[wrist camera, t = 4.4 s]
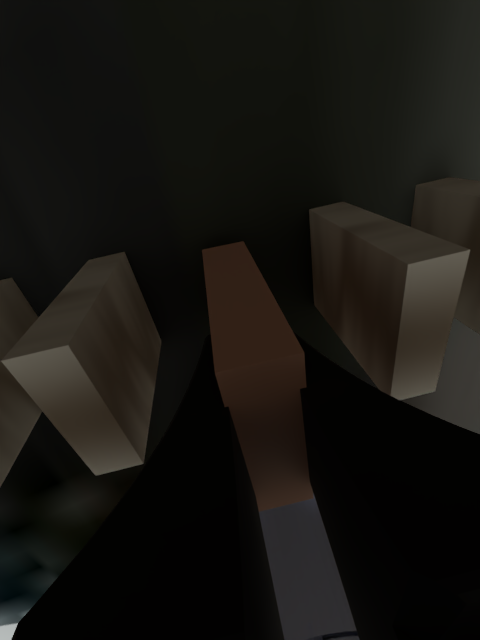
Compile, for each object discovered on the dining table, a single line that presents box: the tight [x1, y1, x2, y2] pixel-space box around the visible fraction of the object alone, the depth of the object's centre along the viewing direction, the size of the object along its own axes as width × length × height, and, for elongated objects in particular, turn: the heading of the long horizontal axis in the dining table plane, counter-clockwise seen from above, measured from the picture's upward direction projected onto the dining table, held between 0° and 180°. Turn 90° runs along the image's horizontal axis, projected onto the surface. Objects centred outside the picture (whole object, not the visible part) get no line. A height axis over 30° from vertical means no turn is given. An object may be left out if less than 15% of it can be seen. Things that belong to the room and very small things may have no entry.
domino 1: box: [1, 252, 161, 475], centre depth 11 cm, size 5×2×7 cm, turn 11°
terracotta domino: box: [202, 241, 314, 512], centre depth 9 cm, size 5×2×7 cm, turn 10°
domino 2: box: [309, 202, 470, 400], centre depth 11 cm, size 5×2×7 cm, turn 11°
